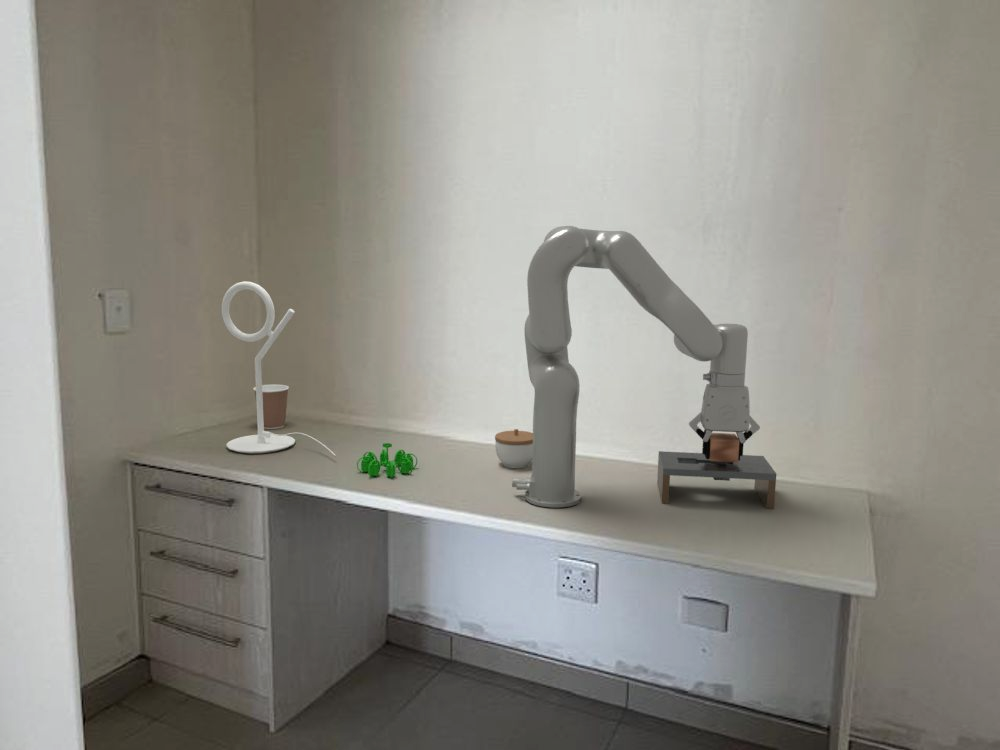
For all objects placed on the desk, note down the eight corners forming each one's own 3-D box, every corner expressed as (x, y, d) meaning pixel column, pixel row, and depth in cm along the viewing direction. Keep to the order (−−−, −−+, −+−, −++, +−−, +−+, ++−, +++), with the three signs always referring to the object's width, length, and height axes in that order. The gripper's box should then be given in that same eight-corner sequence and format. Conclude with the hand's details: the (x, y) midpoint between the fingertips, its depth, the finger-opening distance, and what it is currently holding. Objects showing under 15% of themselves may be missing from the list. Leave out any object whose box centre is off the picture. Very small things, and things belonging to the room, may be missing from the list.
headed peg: (709, 481, 176) (711, 439, 174) (705, 473, 182) (707, 432, 180) (736, 482, 175) (739, 440, 173) (732, 474, 181) (734, 433, 179)
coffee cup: (295, 423, 243) (293, 384, 241) (282, 431, 233) (281, 391, 231) (262, 421, 244) (261, 383, 242) (249, 429, 234) (247, 390, 231)
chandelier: (429, 468, 199) (429, 441, 197) (394, 484, 186) (394, 456, 184) (381, 459, 206) (381, 434, 204) (344, 474, 193) (343, 447, 191)
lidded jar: (490, 460, 205) (490, 425, 204) (529, 457, 208) (530, 423, 206) (500, 472, 195) (501, 435, 193) (541, 469, 198) (542, 433, 196)
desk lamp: (208, 450, 211) (198, 282, 203) (248, 434, 228) (241, 278, 220) (332, 464, 200) (327, 286, 192) (365, 446, 217) (362, 282, 209)
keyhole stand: (661, 503, 174) (663, 468, 172) (657, 483, 188) (658, 451, 186) (773, 509, 171) (776, 473, 170) (760, 488, 185) (763, 455, 183)
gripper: (689, 381, 172) (684, 461, 175) (770, 384, 170) (764, 464, 173) (685, 375, 179) (681, 452, 182) (763, 378, 177) (758, 455, 180)
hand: (722, 457), depth 177 cm, fingers closed on headed peg, 6 cm apart
